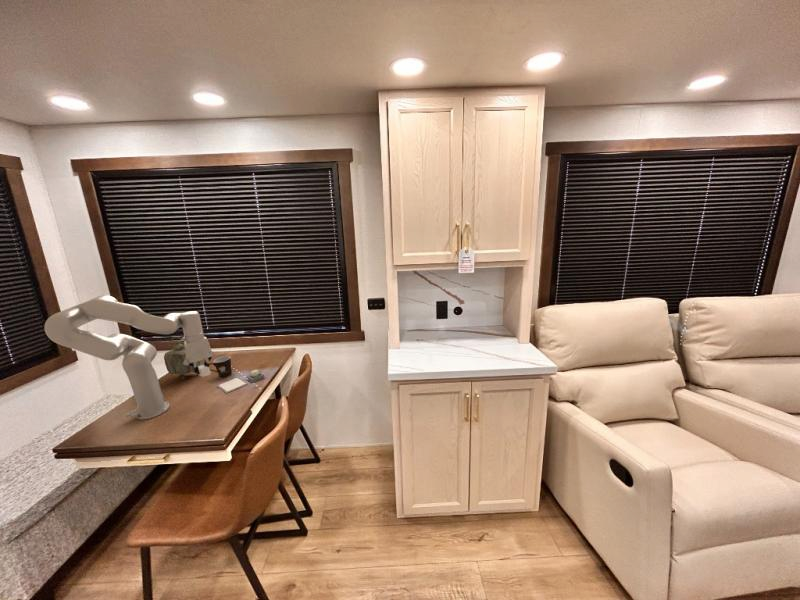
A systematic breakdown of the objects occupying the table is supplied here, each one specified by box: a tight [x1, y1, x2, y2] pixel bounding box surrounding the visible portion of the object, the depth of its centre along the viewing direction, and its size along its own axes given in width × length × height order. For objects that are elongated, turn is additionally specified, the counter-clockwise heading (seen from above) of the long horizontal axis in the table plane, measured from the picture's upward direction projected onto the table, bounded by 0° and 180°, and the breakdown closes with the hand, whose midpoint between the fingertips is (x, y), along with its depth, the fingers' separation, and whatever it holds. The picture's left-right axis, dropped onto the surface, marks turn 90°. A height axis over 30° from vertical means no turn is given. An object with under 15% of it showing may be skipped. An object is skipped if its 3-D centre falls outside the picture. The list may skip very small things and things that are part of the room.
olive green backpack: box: [163, 336, 201, 380], centre depth 174 cm, size 14×9×25 cm, turn 84°
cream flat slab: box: [216, 377, 249, 395], centre depth 163 cm, size 11×13×1 cm
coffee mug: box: [209, 355, 233, 379], centre depth 175 cm, size 12×9×10 cm
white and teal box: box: [195, 364, 212, 378], centre depth 149 cm, size 4×11×4 cm, turn 50°
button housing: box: [246, 371, 265, 383], centre depth 169 cm, size 6×6×2 cm
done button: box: [250, 369, 260, 378], centre depth 168 cm, size 4×4×3 cm
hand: (202, 371), depth 149 cm, fingers closed on white and teal box, 3 cm apart
